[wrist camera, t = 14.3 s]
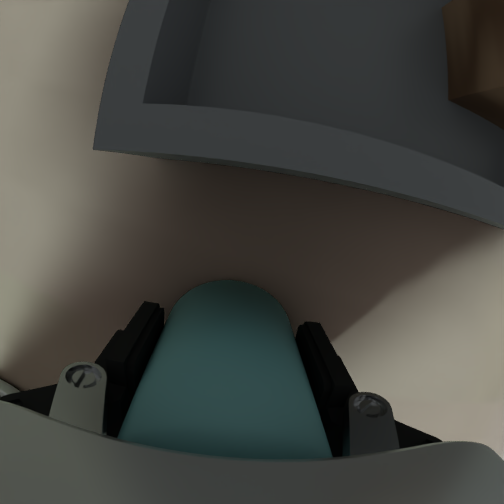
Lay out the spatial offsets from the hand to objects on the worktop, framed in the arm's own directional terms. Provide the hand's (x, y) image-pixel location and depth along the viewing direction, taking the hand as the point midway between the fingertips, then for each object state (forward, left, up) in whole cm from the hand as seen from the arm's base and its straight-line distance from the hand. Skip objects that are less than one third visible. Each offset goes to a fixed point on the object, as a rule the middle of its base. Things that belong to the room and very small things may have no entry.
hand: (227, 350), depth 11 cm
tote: (+14, -6, -1) cm, 15 cm away
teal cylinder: (0, 0, -1) cm, 1 cm away
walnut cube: (+14, -10, 0) cm, 17 cm away
